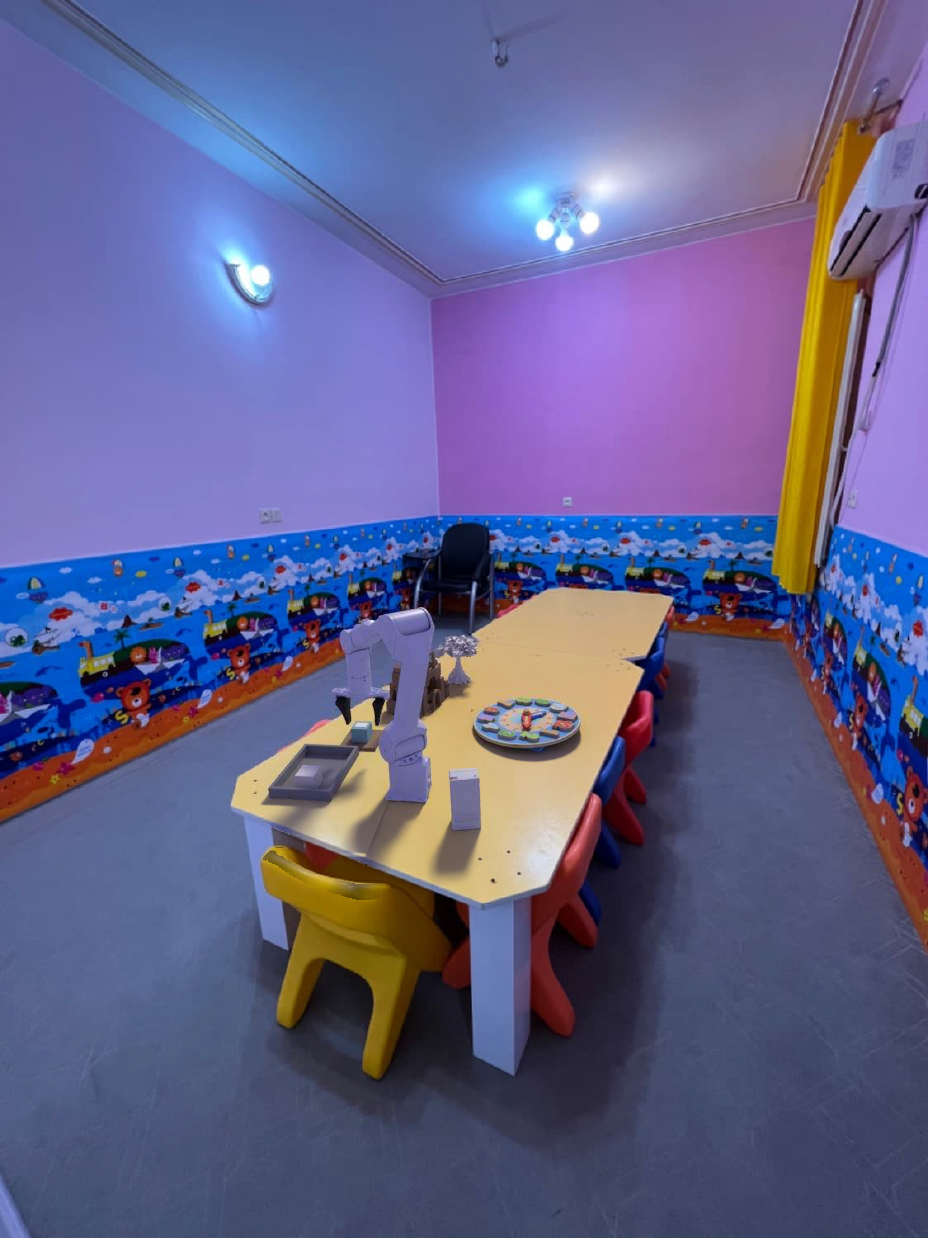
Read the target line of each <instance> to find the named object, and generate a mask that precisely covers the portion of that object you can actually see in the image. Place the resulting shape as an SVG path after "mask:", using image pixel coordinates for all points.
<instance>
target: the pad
mask: <svg viewBox="0 0 928 1238" xmlns="http://www.w3.org/2000/svg"><path fill="white" fill-rule="evenodd" d="M372 732H373V735H372V737H371V738H370V740H369V742H368V743H362V742H352V738H351V729H350V730H349V732H348V733H347V734H346V736H345V737H344V739H343V740H342V741H341V743H340V744H339V745H347V746H358V747H359V751H372V752H375V751H377V749H378V748H379V746H378V743H379V739H380V737H381V736H382V733H383V729H372Z"/></svg>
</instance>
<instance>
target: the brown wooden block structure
mask: <svg viewBox="0 0 928 1238" xmlns="http://www.w3.org/2000/svg"><path fill="white" fill-rule="evenodd" d="M430 656H431V657H430ZM441 664H442V663H441V662H438V658H437V659H436V657H435V651H434V650H430V651H429V664H428V670H427V675H426V681H425V686H424V692H423V698H422V703H421V709H420V714H419V718H421V717H422V716H426V715H427V714H428V713H430V712H431V711H436V706H438V707H441V706H442V703H443V702H444V701H445V700H446V699H447V698H449V697H450V689H449V683H448V681H447V680H445V676H442V665H441ZM401 665H402V662H401V664H400V663H398V664H397V663H395V665H394V666H393V667H392V672H391V682H389V683H388V684H389V689H388V690H389V691H390V697H389V699H388V700H386V701H385V707H386V715H389V716H393V717H394V713H395V706H396V700H397V693H398V686H399V679H400V672H401Z"/></svg>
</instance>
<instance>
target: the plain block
mask: <svg viewBox="0 0 928 1238" xmlns="http://www.w3.org/2000/svg"><path fill="white" fill-rule="evenodd" d="M322 781H323V778H322V769H321V766H317V765H303V766H302V767H301V768H300V769H299V771H298V772H297V773H296V775H295V782H296V788H315V789H317V788H318V787H319V785H320V784H321V782H322Z"/></svg>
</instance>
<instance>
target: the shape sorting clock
mask: <svg viewBox="0 0 928 1238" xmlns="http://www.w3.org/2000/svg"><path fill="white" fill-rule="evenodd" d="M581 723H582V722H581V717H580V715H579V713H578V712H577V711H576V709H574V708H573V707H571V706H569V705H567V704H566V703H562V702H559V701H556V700H553V699H548V698H547V699H546V698H542V697H541V698H538V697H516V698H513V699H512V698H511V699H507V700H501V699H499V700H498V701H497V702H496V703H492V704H489V705H488V706H485V707H484V708H483V709H481V710H479V712H477V713H476V715H475V716H474V719H473V728H474V731H475V733H476V734H477V736H479V737H480V738H482V739H483V740H485V741H487V742H490V743H492V744H495V745H499V746H502V747H507V748H515V749H516V748H517V749H526V748H527V750H528V751H529V750H530V751H533V752H536V753H541V751H542V750H544V749H545V747H547V746H552V745H555V744H559V743H561V742H563V741H566V740H568V739H570V738H571V737H573V736H574V735H575V734H576V733H577V732H579V730H580V729H581V725H582V724H581Z"/></svg>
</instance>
